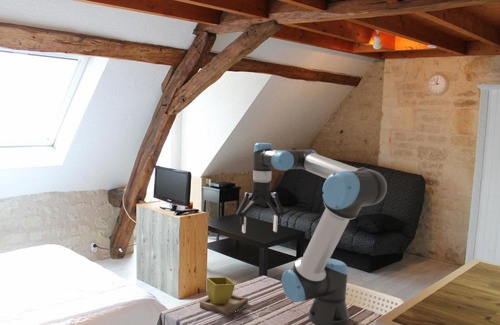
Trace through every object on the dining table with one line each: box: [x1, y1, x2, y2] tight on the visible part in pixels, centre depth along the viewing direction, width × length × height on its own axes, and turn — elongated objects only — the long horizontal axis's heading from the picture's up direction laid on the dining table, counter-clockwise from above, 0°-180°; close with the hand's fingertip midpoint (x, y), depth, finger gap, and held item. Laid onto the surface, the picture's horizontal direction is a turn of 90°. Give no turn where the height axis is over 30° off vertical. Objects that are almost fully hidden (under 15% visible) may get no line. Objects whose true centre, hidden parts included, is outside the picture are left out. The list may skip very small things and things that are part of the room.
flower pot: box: [206, 276, 236, 305], centre depth 186 cm, size 9×9×9 cm
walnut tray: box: [199, 293, 249, 316], centre depth 187 cm, size 14×14×2 cm
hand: (259, 231), depth 192 cm, fingers open, 13 cm apart
